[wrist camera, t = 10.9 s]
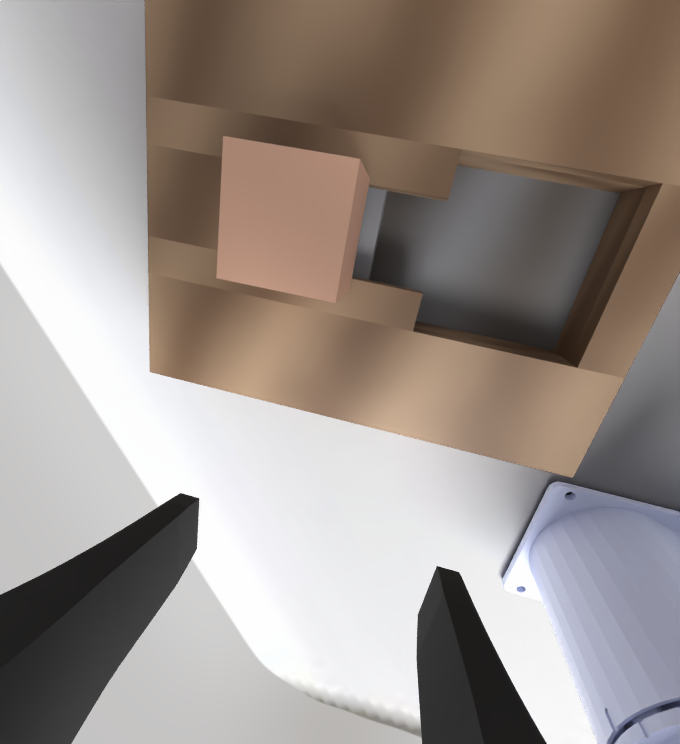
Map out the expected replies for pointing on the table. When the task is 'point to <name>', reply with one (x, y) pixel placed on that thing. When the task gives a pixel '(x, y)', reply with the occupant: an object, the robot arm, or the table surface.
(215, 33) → the keyhole plate
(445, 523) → the table surface
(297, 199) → the peach colored cube
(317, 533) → the table surface
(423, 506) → the table surface
